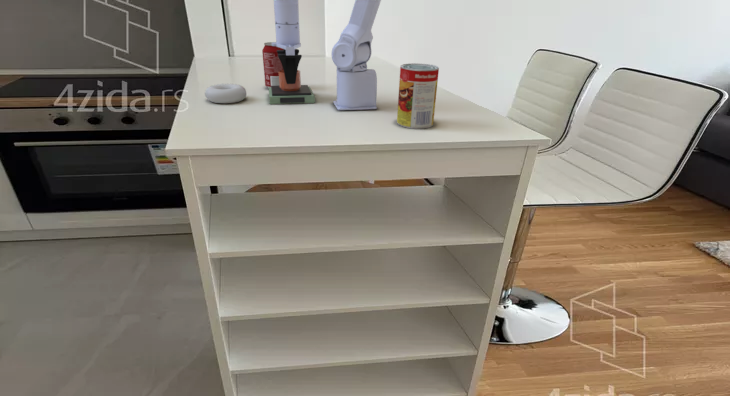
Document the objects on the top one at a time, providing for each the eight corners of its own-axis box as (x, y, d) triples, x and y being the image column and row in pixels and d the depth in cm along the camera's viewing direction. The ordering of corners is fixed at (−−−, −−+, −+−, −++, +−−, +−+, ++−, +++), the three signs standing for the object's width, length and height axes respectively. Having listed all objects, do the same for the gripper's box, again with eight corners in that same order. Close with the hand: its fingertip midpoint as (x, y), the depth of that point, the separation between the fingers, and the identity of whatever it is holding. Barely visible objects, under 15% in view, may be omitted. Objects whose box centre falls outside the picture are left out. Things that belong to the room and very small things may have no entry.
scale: (310, 93, 116) (309, 84, 114) (314, 103, 106) (314, 93, 105) (269, 94, 113) (268, 85, 112) (269, 104, 103) (269, 94, 102)
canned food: (419, 116, 97) (424, 62, 92) (440, 126, 91) (446, 68, 85) (390, 120, 94) (393, 64, 88) (409, 130, 87) (414, 70, 82)
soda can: (287, 90, 117) (284, 45, 112) (262, 90, 117) (259, 44, 112) (291, 85, 123) (289, 42, 118) (268, 85, 123) (264, 41, 118)
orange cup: (299, 86, 111) (299, 69, 109) (301, 91, 107) (301, 72, 105) (279, 87, 110) (277, 69, 108) (280, 91, 106) (278, 73, 104)
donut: (197, 103, 103) (236, 106, 101) (195, 89, 101) (234, 91, 100) (218, 94, 112) (254, 96, 110) (216, 81, 110) (252, 83, 108)
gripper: (269, 21, 107) (273, 75, 113) (270, 26, 94) (275, 87, 101) (297, 21, 109) (299, 75, 115) (302, 26, 96) (304, 86, 102)
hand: (290, 81), depth 108 cm, fingers closed on orange cup, 5 cm apart
